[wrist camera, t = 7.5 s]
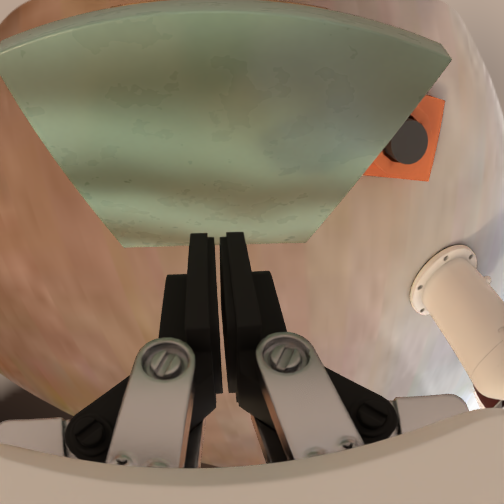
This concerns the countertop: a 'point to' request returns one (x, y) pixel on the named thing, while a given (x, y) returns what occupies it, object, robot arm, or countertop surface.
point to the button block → (430, 118)
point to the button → (408, 143)
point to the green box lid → (217, 111)
